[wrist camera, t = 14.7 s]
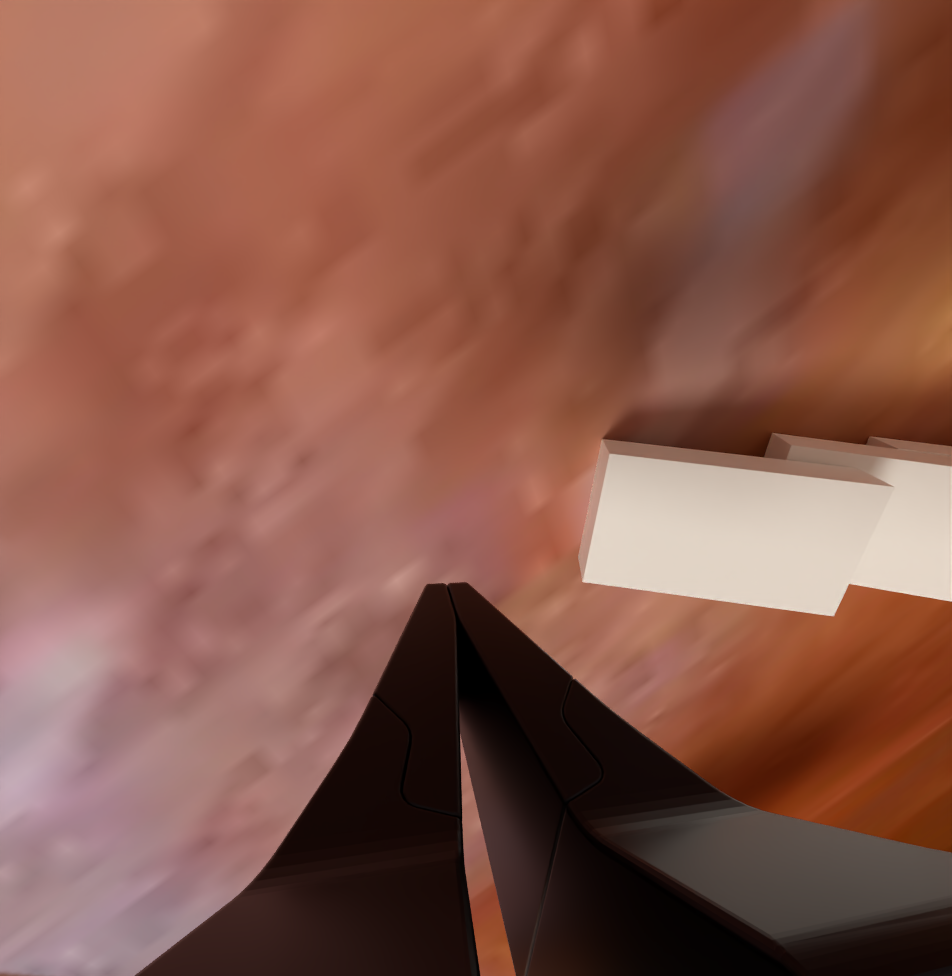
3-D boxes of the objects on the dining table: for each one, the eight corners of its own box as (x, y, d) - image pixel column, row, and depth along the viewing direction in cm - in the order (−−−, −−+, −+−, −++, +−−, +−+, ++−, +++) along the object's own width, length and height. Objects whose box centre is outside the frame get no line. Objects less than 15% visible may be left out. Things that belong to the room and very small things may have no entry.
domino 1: (578, 557, 17) (806, 587, 16) (582, 581, 15) (833, 616, 15) (601, 438, 15) (858, 468, 14) (609, 453, 14) (895, 486, 13)
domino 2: (733, 544, 18) (968, 584, 17) (747, 566, 16) (1006, 611, 15) (772, 432, 16) (1038, 467, 15) (791, 445, 15) (1088, 484, 13)
